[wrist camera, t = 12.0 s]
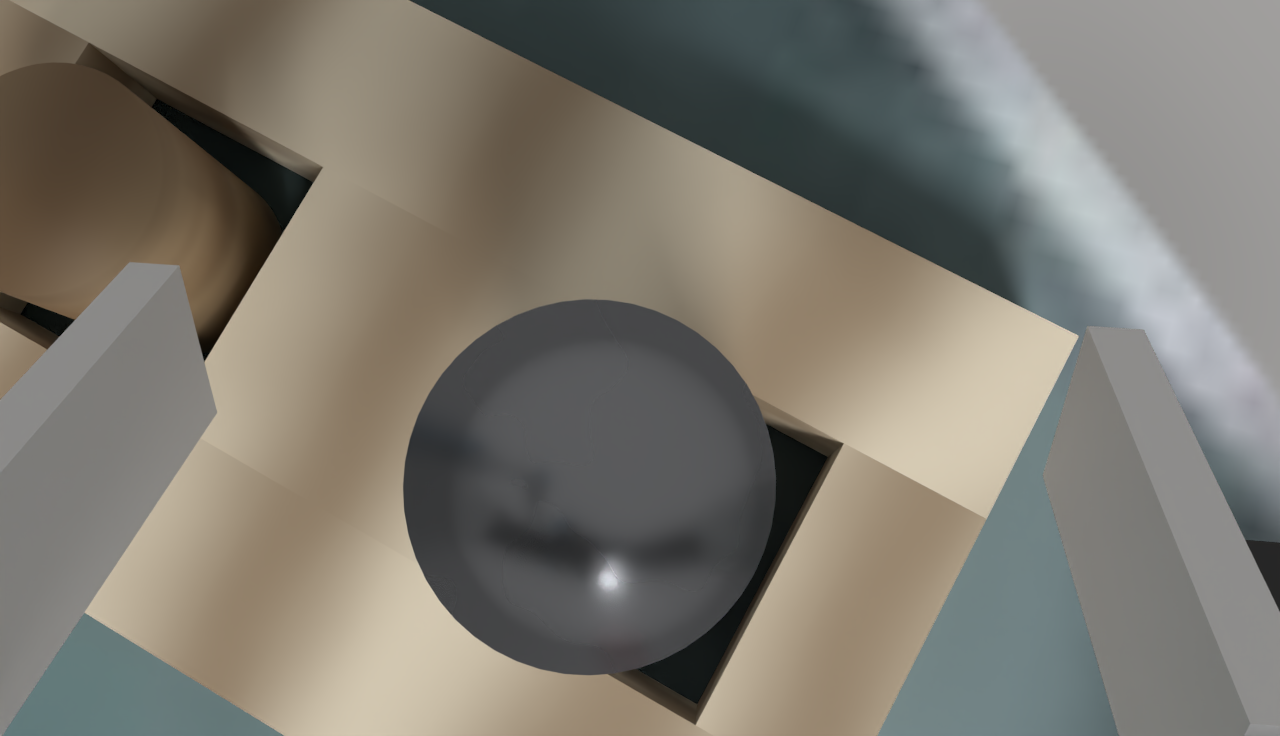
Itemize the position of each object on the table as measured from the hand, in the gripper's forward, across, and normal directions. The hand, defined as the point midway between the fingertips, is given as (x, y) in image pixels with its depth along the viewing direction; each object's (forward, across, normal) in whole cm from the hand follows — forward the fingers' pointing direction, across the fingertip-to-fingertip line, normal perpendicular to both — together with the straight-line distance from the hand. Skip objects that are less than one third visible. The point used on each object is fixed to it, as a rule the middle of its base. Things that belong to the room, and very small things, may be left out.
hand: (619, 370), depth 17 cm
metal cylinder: (+5, 0, -7) cm, 9 cm away
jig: (+6, -6, -5) cm, 10 cm away
